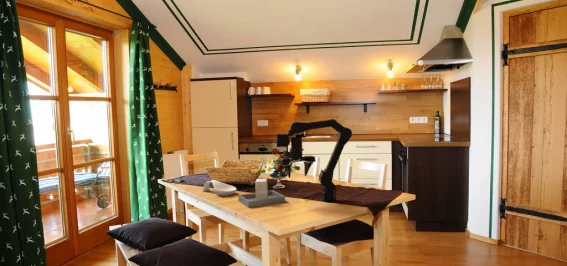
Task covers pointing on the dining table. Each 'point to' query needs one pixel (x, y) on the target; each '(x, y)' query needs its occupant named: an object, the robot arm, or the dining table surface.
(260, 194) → the small box
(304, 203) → the dining table surface
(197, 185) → the dining table surface
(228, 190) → the spoon rest
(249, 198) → the tray
